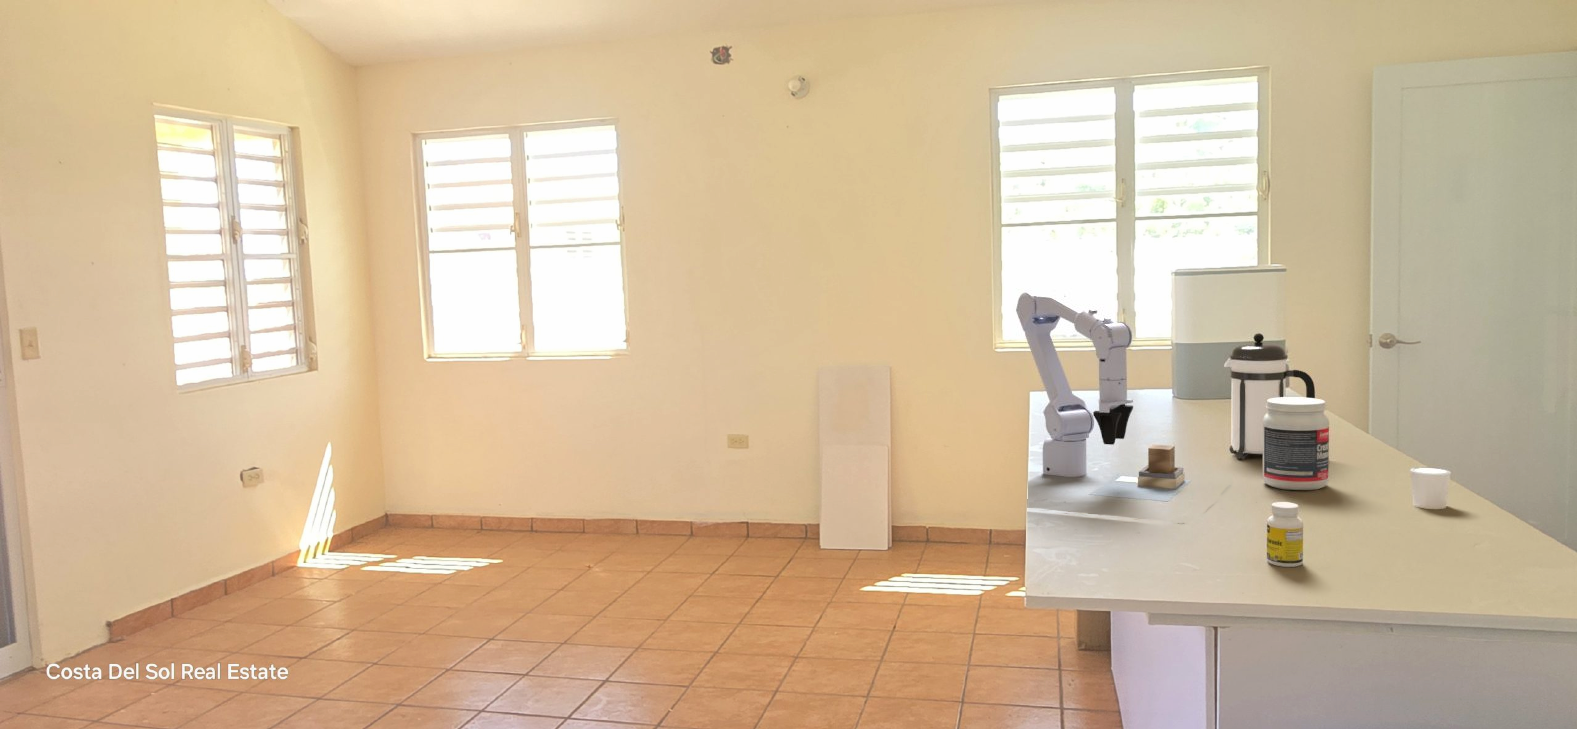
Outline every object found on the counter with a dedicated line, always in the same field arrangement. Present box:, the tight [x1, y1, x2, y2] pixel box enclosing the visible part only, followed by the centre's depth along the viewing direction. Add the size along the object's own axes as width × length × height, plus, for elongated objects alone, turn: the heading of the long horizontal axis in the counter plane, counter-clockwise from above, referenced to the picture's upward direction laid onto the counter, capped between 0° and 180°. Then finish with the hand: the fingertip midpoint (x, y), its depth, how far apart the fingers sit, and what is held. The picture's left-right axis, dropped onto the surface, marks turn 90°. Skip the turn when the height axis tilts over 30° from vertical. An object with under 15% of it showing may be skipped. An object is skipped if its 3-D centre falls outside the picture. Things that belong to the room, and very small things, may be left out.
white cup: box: [1409, 466, 1452, 510], centre depth 209 cm, size 7×7×7 cm
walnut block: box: [1147, 444, 1176, 473], centre depth 233 cm, size 4×4×6 cm
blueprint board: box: [1088, 464, 1192, 502], centre depth 230 cm, size 16×22×4 cm
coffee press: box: [1223, 332, 1316, 461], centre depth 260 cm, size 17×16×30 cm
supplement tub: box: [1262, 396, 1330, 491], centre depth 229 cm, size 13×13×18 cm
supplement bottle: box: [1266, 501, 1304, 568], centre depth 176 cm, size 5×5×10 cm
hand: (1114, 441), depth 232 cm, fingers open, 7 cm apart
